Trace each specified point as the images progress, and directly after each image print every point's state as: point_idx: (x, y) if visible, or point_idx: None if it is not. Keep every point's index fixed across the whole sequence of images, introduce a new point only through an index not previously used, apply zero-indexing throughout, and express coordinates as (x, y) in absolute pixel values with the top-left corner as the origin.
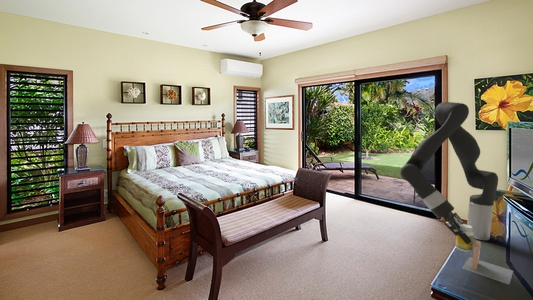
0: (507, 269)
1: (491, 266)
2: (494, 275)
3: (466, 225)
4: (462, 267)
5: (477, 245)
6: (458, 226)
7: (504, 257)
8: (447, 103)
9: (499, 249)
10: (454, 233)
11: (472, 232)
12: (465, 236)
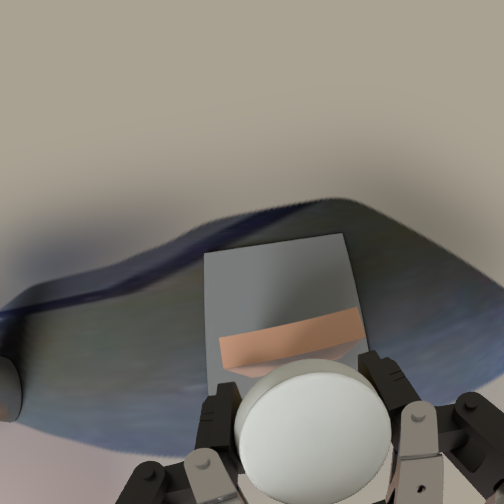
0: (209, 268)
1: (233, 313)
2: (315, 282)
3: (288, 446)
4: None
5: (321, 329)
6: (439, 468)
7: (96, 304)
8: None
9: (48, 326)
10: (473, 441)
11: (288, 373)
12: (404, 388)
